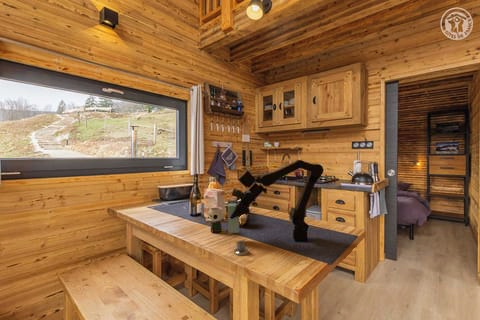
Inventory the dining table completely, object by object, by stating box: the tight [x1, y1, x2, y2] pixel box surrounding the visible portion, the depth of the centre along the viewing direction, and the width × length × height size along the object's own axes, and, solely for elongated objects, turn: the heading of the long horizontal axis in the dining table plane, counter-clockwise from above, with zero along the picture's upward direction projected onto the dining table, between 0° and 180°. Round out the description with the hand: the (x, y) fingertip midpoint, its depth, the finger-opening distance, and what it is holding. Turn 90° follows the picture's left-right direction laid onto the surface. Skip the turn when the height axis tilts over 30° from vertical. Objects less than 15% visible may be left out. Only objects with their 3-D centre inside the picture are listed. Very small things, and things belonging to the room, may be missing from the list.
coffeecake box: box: [203, 187, 226, 218], centre depth 152 cm, size 15×7×20 cm, turn 45°
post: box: [233, 240, 249, 256], centre depth 99 cm, size 6×6×4 cm
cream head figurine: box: [208, 207, 225, 234], centre depth 125 cm, size 11×7×13 cm, turn 61°
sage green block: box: [227, 203, 240, 234], centre depth 111 cm, size 5×5×13 cm
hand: (230, 216), depth 111 cm, fingers closed on sage green block, 5 cm apart
